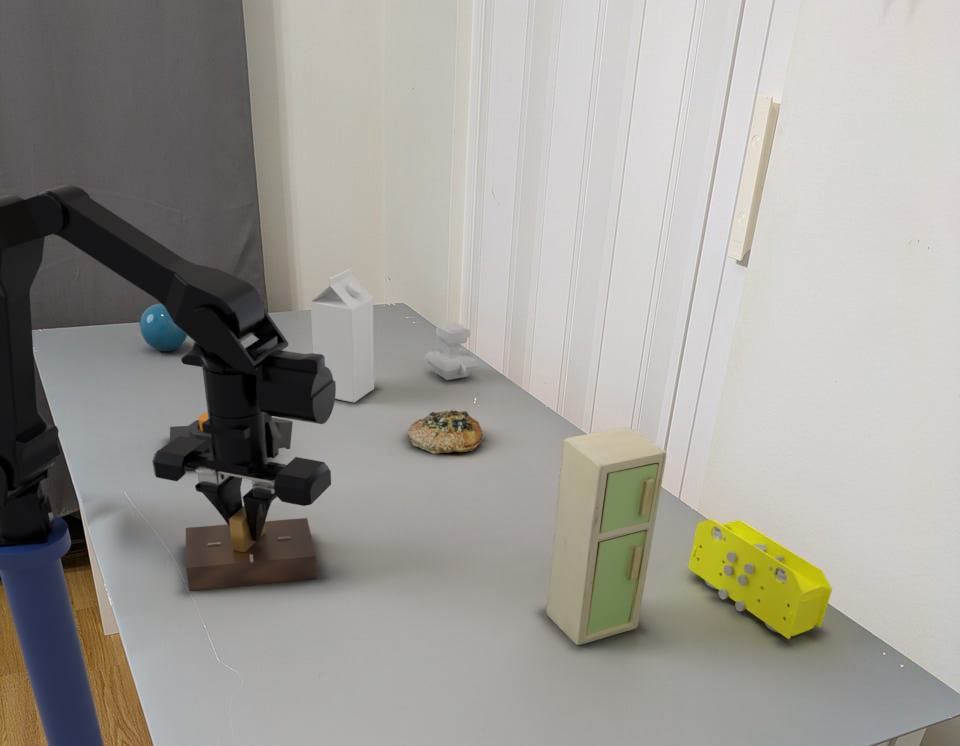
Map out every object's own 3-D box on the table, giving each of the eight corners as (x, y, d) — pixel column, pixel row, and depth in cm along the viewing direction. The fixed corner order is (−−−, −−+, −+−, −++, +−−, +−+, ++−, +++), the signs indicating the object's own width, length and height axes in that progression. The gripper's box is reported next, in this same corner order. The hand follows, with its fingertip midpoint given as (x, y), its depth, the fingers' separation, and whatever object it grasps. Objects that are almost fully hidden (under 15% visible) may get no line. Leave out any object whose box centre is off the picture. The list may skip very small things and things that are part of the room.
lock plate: (189, 591, 104) (185, 567, 102) (188, 549, 111) (185, 526, 110) (317, 579, 107) (315, 555, 106) (308, 539, 115) (307, 516, 113)
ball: (144, 343, 169) (137, 298, 164) (190, 341, 171) (185, 297, 166) (142, 358, 163) (134, 312, 158) (190, 357, 164) (184, 310, 160)
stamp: (421, 370, 164) (422, 322, 159) (454, 365, 167) (456, 317, 163) (448, 387, 158) (449, 338, 153) (481, 381, 161) (483, 332, 156)
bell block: (171, 471, 128) (167, 443, 126) (172, 440, 136) (168, 414, 134) (262, 465, 131) (259, 438, 129) (257, 435, 139) (255, 410, 136)
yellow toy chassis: (684, 575, 112) (696, 512, 107) (719, 563, 114) (733, 502, 110) (783, 646, 101) (802, 580, 96) (820, 632, 103) (840, 567, 99)
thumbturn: (245, 553, 106) (241, 519, 103) (232, 550, 106) (228, 517, 103) (266, 532, 110) (263, 499, 107) (253, 529, 110) (250, 497, 108)
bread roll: (464, 419, 147) (466, 390, 143) (494, 457, 139) (497, 428, 136) (397, 431, 143) (397, 402, 139) (425, 471, 135) (426, 441, 132)
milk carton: (314, 395, 152) (308, 275, 142) (336, 381, 158) (332, 264, 147) (354, 403, 150) (350, 282, 140) (374, 389, 156) (372, 271, 145)
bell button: (200, 434, 129) (198, 422, 128) (199, 424, 132) (198, 412, 131) (227, 433, 130) (226, 421, 129) (226, 422, 133) (224, 411, 132)
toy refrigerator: (579, 651, 98) (603, 467, 87) (543, 614, 104) (562, 436, 92) (642, 633, 102) (673, 453, 90) (604, 598, 107) (629, 424, 95)
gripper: (349, 395, 103) (353, 520, 112) (196, 370, 107) (212, 493, 116) (304, 433, 94) (312, 566, 103) (140, 404, 98) (161, 535, 107)
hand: (248, 537), depth 107 cm, fingers closed on thumbturn, 2 cm apart
